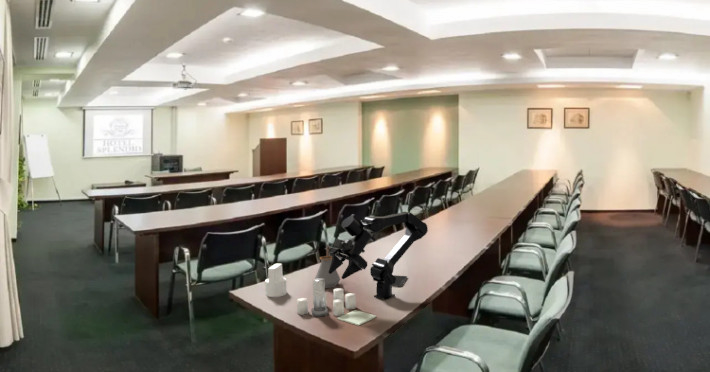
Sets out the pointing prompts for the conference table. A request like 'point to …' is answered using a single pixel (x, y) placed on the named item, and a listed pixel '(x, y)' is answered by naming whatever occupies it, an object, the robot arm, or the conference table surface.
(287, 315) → the conference table surface
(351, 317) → the sage mat
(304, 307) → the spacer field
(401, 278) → the phone
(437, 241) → the conference table surface
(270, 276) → the cylinder with rectangular tab
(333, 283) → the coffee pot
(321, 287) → the silver cylinder
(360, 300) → the conference table surface
